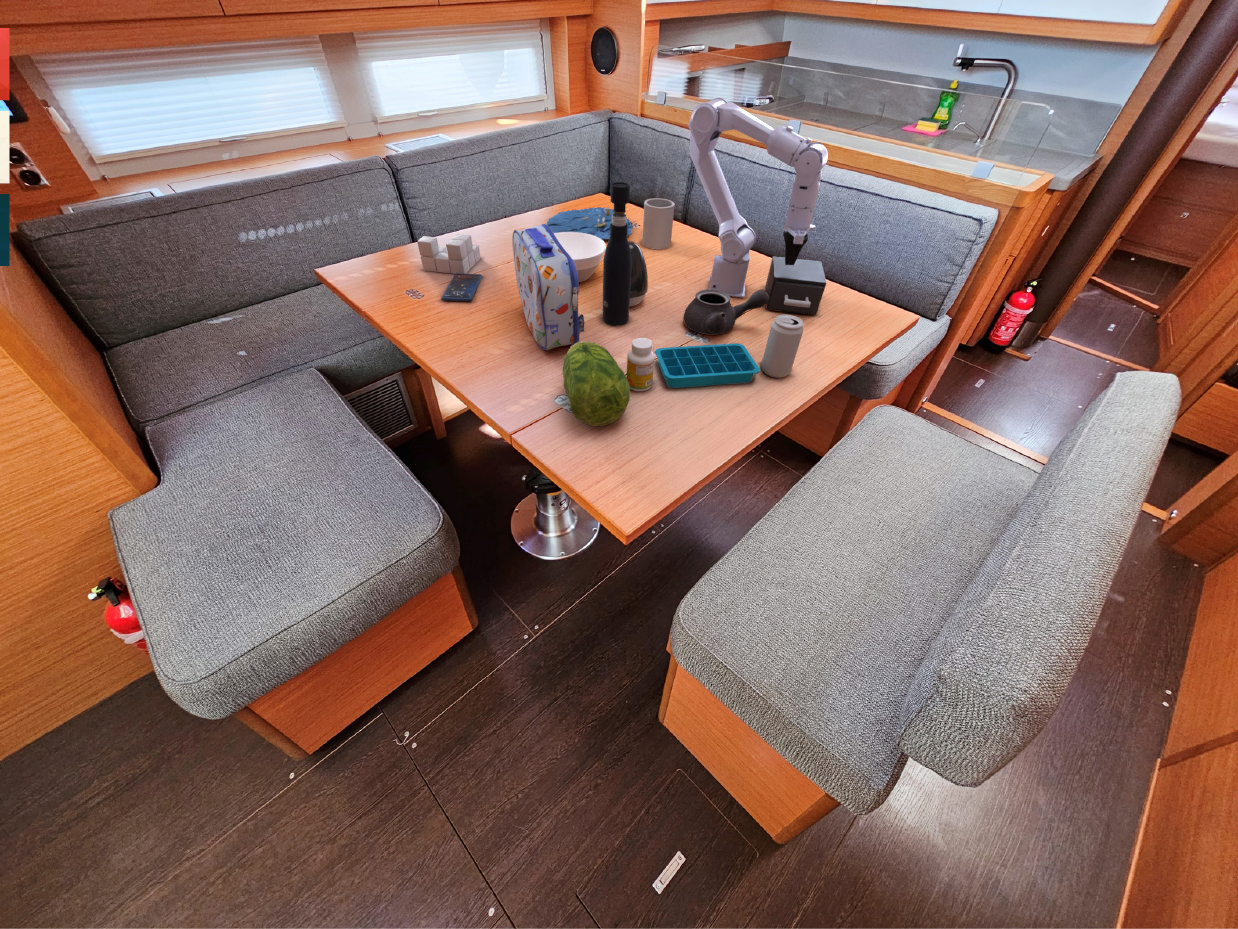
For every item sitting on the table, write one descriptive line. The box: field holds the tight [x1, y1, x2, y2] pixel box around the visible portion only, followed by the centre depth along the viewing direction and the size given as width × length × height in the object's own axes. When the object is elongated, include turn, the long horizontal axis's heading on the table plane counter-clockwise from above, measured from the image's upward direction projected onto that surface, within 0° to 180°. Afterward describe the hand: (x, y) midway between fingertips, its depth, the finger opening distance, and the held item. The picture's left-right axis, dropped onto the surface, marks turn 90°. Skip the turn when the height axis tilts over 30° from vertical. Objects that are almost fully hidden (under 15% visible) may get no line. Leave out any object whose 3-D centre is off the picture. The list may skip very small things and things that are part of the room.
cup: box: [641, 197, 676, 250], centre depth 158 cm, size 9×9×12 cm
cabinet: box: [764, 255, 827, 316], centre depth 133 cm, size 14×13×9 cm
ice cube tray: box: [654, 342, 761, 389], centre depth 109 cm, size 12×20×3 cm, turn 100°
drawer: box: [769, 281, 823, 314], centre depth 130 cm, size 17×11×7 cm
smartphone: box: [440, 273, 483, 302], centre depth 134 cm, size 8×1×15 cm
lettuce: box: [562, 340, 631, 427], centre depth 97 cm, size 12×21×11 cm, turn 16°
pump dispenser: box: [628, 240, 649, 307], centre depth 127 cm, size 10×10×15 cm
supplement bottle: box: [625, 337, 656, 392], centre depth 102 cm, size 5×5×10 cm
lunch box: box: [512, 223, 585, 351], centre depth 113 cm, size 28×10×22 cm, turn 22°
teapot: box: [683, 288, 769, 336], centre depth 120 cm, size 19×15×10 cm
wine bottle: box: [601, 181, 632, 327], centre depth 115 cm, size 6×6×30 cm
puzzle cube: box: [416, 233, 482, 275], centre depth 142 cm, size 12×12×8 cm
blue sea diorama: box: [546, 206, 634, 240], centre depth 169 cm, size 30×30×5 cm
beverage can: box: [760, 314, 805, 379], centre depth 107 cm, size 6×6×12 cm
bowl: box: [554, 231, 607, 283], centre depth 140 cm, size 19×20×8 cm
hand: (789, 264), depth 128 cm, fingers closed
